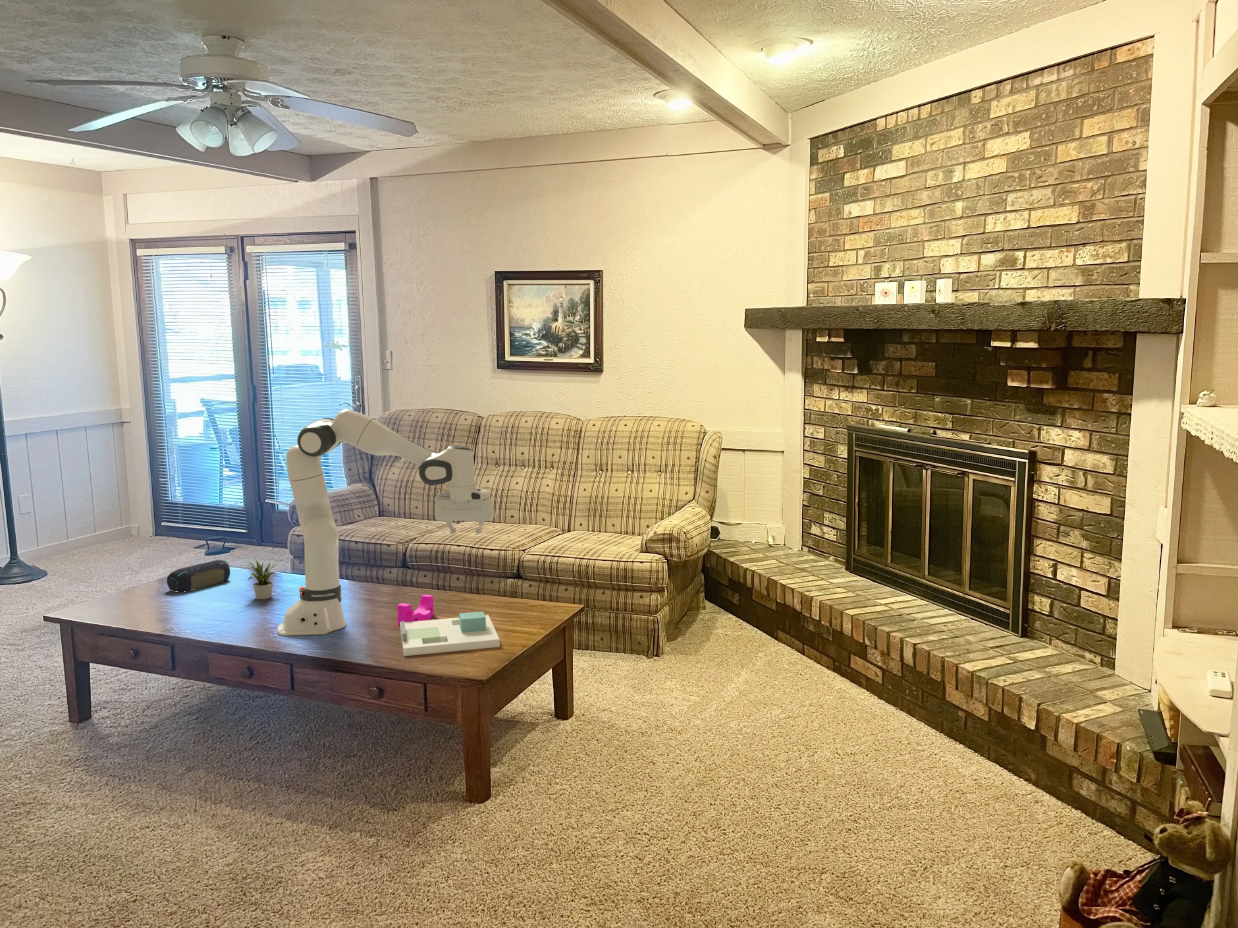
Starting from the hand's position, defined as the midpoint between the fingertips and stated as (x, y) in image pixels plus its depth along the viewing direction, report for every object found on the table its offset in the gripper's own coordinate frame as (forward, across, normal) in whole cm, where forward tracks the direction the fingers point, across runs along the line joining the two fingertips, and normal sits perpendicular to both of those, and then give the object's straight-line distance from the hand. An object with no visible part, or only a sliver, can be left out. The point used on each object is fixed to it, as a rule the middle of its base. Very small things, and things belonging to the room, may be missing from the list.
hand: (466, 533), depth 313 cm
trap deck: (+32, -4, -12) cm, 35 cm away
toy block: (+33, -22, +4) cm, 40 cm away
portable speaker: (+30, -128, +28) cm, 135 cm away
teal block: (+30, +4, -9) cm, 32 cm away
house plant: (+30, -95, +18) cm, 101 cm away
